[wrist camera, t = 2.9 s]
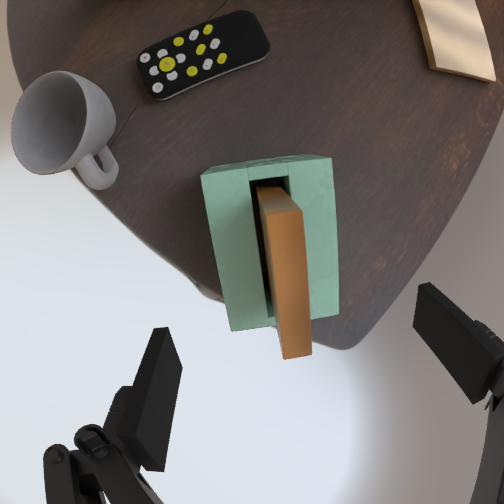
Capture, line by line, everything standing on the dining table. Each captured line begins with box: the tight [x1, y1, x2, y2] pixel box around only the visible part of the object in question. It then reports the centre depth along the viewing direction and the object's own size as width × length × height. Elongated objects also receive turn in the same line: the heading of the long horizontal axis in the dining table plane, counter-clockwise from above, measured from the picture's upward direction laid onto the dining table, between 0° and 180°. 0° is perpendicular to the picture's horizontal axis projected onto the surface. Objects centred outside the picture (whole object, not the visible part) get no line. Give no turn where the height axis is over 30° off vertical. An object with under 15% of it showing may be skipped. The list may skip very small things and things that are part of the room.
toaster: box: [200, 154, 339, 332], centre depth 28 cm, size 10×16×8 cm, turn 8°
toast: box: [254, 181, 312, 360], centre depth 23 cm, size 2×10×12 cm, turn 8°
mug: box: [11, 71, 119, 190], centre depth 22 cm, size 12×9×10 cm
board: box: [412, 0, 496, 82], centre depth 22 cm, size 14×12×2 cm
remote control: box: [137, 10, 270, 100], centre depth 24 cm, size 6×13×2 cm, turn 112°
